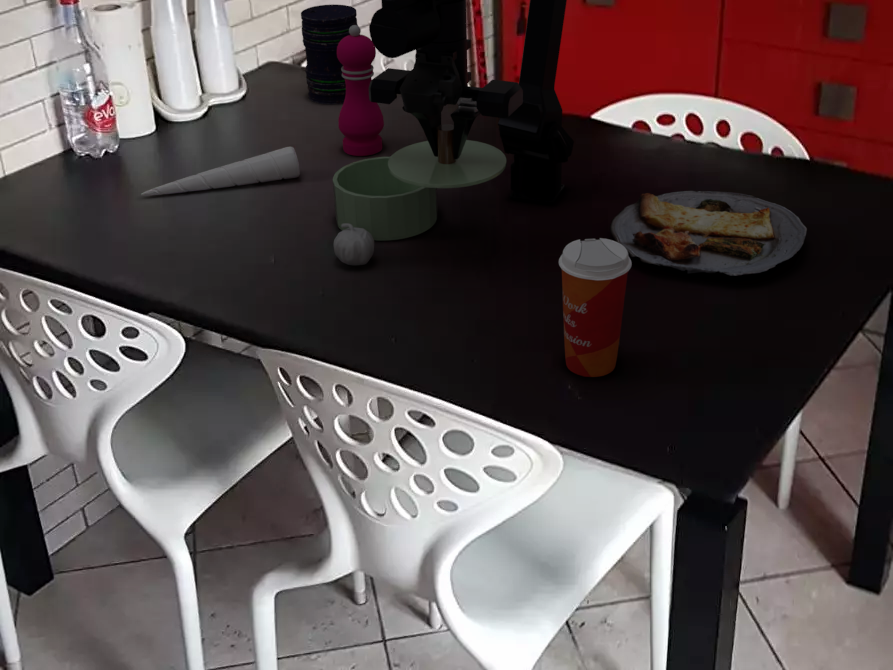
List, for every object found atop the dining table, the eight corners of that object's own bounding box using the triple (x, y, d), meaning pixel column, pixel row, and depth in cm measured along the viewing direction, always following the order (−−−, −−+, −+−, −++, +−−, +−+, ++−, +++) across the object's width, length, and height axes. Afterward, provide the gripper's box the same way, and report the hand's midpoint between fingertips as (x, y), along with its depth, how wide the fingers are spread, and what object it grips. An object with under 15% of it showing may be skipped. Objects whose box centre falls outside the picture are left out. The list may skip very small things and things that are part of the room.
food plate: (590, 267, 150) (591, 243, 148) (633, 196, 168) (635, 174, 166) (790, 297, 141) (793, 272, 140) (812, 219, 160) (816, 196, 158)
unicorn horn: (140, 188, 176) (135, 158, 173) (297, 170, 180) (295, 141, 178) (141, 200, 172) (135, 170, 169) (301, 182, 176) (298, 152, 174)
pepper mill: (379, 158, 183) (371, 32, 173) (334, 156, 184) (324, 31, 174) (390, 142, 189) (383, 19, 179) (347, 139, 190) (338, 17, 180)
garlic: (326, 257, 154) (323, 222, 151) (363, 247, 156) (360, 212, 154) (346, 275, 150) (342, 239, 147) (383, 265, 152) (381, 229, 149)
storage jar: (369, 87, 213) (364, 5, 205) (353, 105, 204) (347, 21, 197) (317, 84, 215) (310, 3, 207) (299, 102, 207) (291, 18, 199)
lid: (523, 154, 153) (523, 114, 150) (480, 200, 141) (479, 156, 138) (417, 140, 158) (416, 101, 155) (368, 183, 146) (365, 141, 144)
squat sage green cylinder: (452, 205, 167) (451, 163, 164) (413, 247, 156) (411, 203, 153) (363, 192, 172) (360, 151, 169) (318, 232, 161) (315, 189, 158)
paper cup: (551, 348, 133) (553, 237, 126) (617, 343, 133) (623, 233, 126) (562, 385, 126) (565, 271, 119) (632, 380, 127) (640, 266, 120)
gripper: (344, 48, 138) (353, 170, 146) (491, 63, 131) (492, 191, 139) (384, 22, 147) (391, 139, 155) (524, 35, 140) (524, 157, 148)
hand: (447, 156), depth 149 cm, fingers closed on lid, 2 cm apart
